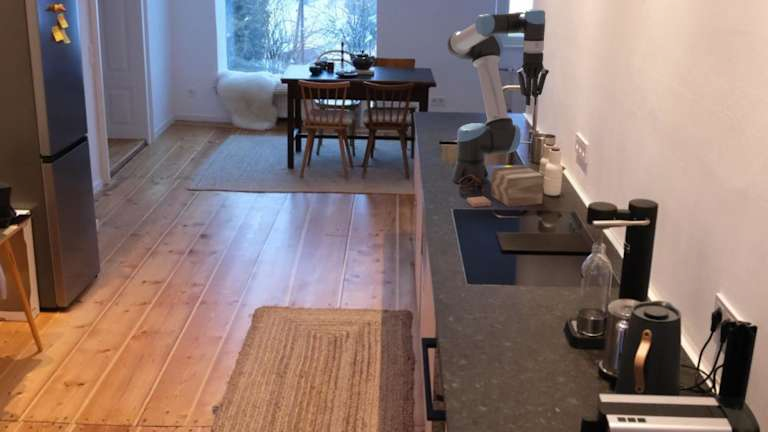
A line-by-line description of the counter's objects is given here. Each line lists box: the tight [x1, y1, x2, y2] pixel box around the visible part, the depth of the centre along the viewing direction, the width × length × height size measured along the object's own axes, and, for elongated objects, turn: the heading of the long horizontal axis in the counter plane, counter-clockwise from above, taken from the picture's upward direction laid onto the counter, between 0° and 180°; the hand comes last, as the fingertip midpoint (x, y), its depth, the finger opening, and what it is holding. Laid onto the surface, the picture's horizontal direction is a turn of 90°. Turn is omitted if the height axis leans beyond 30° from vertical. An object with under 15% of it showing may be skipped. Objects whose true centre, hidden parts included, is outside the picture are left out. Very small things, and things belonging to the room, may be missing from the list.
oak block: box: [490, 164, 544, 207], centre depth 331 cm, size 16×14×11 cm
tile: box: [466, 195, 492, 208], centre depth 328 cm, size 7×7×2 cm
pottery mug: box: [458, 175, 485, 195], centre depth 342 cm, size 12×10×8 cm
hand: (530, 113), depth 330 cm, fingers closed
